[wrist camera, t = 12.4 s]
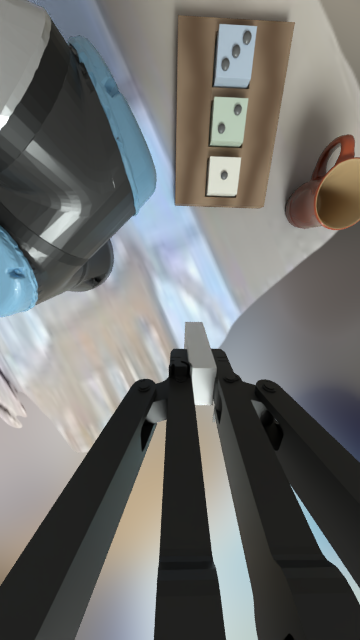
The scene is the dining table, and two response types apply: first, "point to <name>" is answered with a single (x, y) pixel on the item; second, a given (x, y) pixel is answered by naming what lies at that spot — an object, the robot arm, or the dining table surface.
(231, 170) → the tile one
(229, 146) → the tile two
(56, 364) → the dining table surface
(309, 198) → the mug
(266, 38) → the board
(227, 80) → the tile three
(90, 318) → the dining table surface
